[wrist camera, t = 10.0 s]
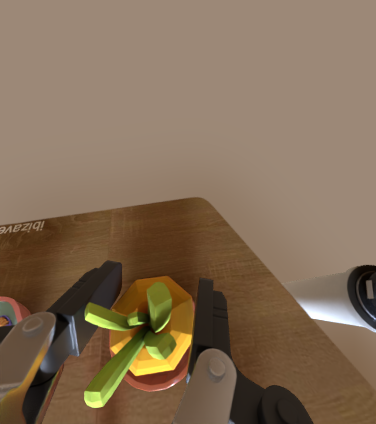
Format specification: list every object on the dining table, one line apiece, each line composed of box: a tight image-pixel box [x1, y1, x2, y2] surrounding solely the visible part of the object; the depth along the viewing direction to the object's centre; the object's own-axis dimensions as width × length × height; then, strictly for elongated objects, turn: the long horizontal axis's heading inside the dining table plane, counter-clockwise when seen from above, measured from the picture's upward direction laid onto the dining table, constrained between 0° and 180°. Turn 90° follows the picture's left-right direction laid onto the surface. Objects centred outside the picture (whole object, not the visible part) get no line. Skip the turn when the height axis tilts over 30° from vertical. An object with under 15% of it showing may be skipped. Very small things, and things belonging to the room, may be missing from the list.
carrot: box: [84, 276, 194, 408], centre depth 13 cm, size 5×5×15 cm
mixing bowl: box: [109, 299, 195, 391], centre depth 27 cm, size 12×12×6 cm
